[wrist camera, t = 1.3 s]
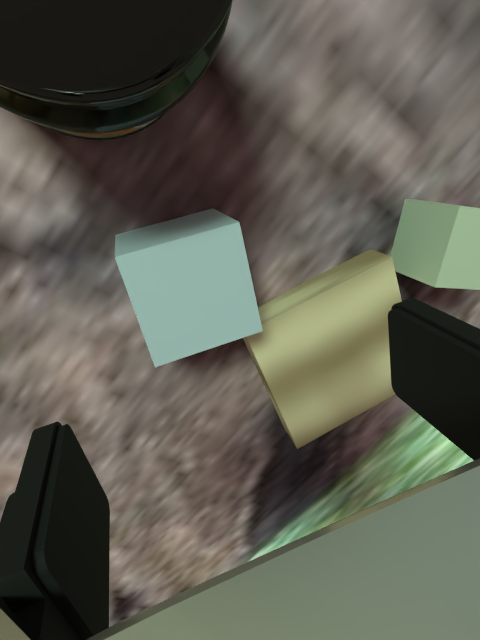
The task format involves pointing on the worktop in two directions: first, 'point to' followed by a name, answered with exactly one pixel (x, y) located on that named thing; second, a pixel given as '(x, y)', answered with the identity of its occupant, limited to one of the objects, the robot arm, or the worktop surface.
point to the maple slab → (328, 346)
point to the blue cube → (188, 284)
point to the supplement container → (104, 60)
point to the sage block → (438, 244)
